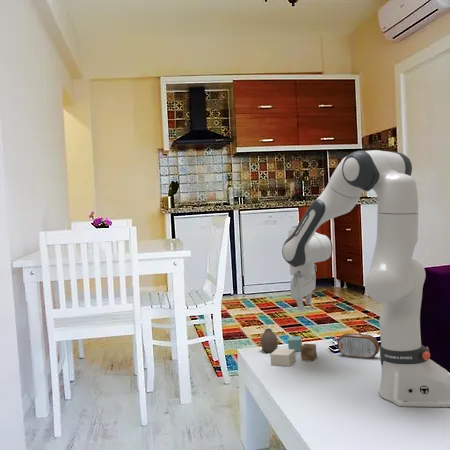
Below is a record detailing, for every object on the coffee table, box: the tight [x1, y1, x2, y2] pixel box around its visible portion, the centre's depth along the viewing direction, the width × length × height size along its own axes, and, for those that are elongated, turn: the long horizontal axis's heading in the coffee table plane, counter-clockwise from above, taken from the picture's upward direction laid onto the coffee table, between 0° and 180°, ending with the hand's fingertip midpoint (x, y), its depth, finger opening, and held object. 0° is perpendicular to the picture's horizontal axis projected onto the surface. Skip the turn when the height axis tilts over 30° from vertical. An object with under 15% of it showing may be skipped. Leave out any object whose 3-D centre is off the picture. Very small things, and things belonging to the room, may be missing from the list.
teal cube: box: [287, 335, 303, 354], centre depth 199 cm, size 5×5×5 cm
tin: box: [336, 332, 380, 359], centre depth 185 cm, size 15×3×8 cm, turn 58°
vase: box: [259, 328, 279, 353], centre depth 201 cm, size 7×7×9 cm
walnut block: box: [300, 343, 318, 362], centre depth 187 cm, size 4×4×5 cm
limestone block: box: [269, 348, 296, 367], centre depth 186 cm, size 7×7×4 cm
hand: (304, 306), depth 187 cm, fingers open, 8 cm apart
